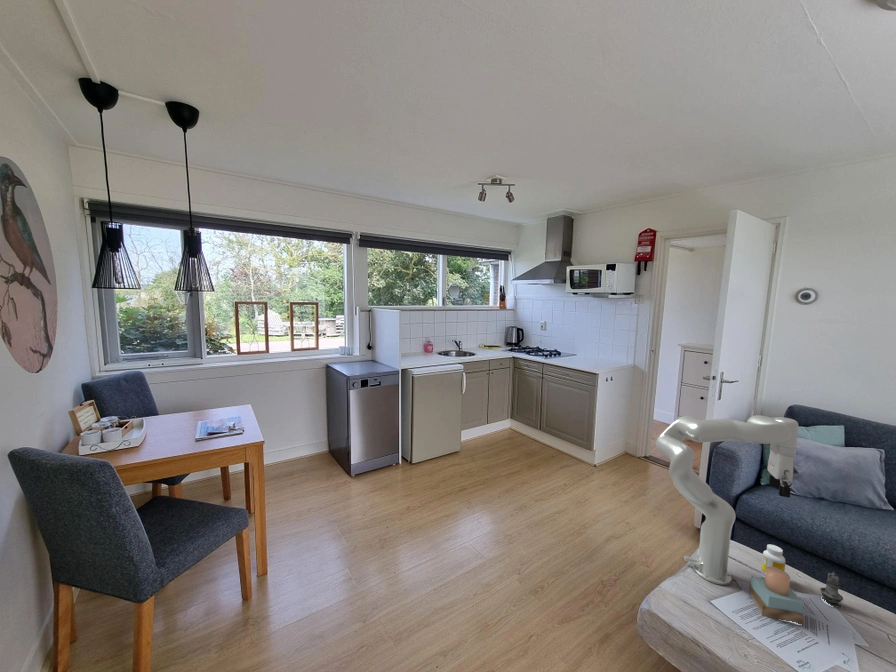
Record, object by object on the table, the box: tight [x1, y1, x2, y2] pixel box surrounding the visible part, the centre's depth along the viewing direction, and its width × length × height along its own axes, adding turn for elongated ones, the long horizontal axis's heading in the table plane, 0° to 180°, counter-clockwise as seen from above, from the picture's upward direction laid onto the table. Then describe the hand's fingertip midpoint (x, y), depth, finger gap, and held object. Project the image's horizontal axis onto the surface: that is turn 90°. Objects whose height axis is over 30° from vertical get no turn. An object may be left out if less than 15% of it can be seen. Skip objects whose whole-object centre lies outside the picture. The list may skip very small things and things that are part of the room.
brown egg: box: [764, 567, 791, 596], centre depth 128 cm, size 6×6×6 cm
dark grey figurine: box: [819, 571, 844, 610], centre depth 132 cm, size 6×6×12 cm
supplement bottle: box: [760, 543, 786, 578], centre depth 143 cm, size 7×7×13 cm
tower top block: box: [750, 575, 804, 615], centre depth 128 cm, size 10×10×4 cm
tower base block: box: [749, 583, 804, 624], centre depth 128 cm, size 11×11×4 cm
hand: (778, 490), depth 142 cm, fingers open, 9 cm apart
